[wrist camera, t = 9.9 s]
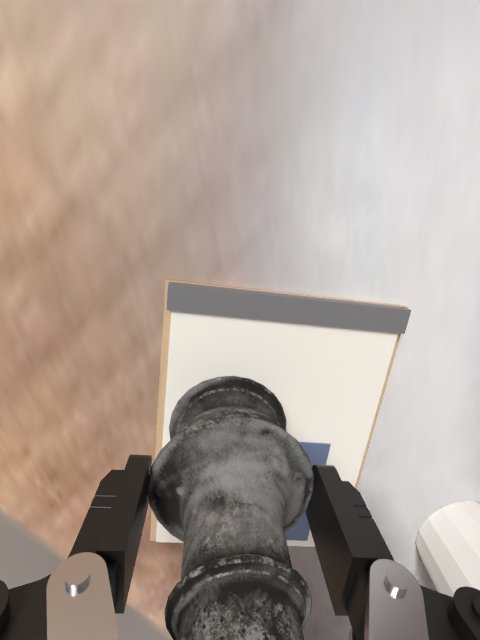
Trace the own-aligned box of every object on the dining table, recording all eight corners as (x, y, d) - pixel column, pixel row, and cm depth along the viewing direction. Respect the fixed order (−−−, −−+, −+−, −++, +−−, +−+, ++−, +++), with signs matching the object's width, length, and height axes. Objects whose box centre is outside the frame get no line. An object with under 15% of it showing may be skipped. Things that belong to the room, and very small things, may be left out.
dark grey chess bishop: (317, 432, 16) (587, 1021, 4) (220, 501, 17) (231, 1144, 5) (237, 343, 14) (330, 913, 3) (134, 424, 15) (-132, 1120, 3)
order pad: (166, 279, 16) (163, 283, 15) (405, 306, 17) (414, 310, 16) (150, 536, 21) (147, 550, 20) (338, 542, 22) (343, 555, 21)
